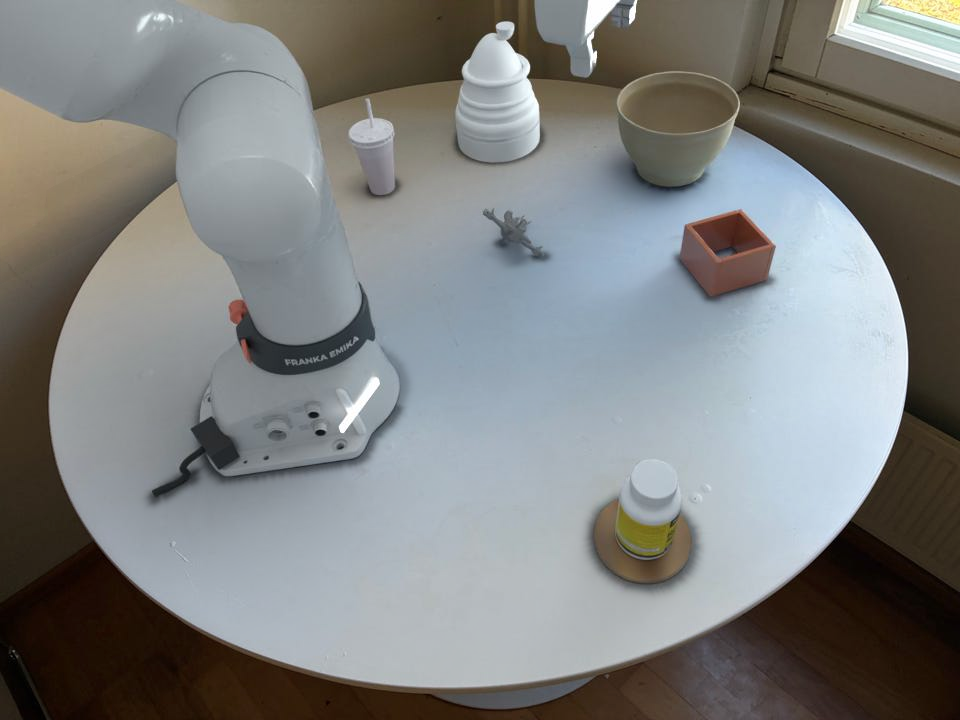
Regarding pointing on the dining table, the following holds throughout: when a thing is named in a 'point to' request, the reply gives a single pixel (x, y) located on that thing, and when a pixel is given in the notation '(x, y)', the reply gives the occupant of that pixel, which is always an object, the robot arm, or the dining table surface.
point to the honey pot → (497, 102)
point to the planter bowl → (675, 124)
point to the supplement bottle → (648, 510)
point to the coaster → (632, 566)
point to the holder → (721, 235)
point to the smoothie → (375, 151)
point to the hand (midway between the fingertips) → (603, 47)
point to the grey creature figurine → (514, 230)
